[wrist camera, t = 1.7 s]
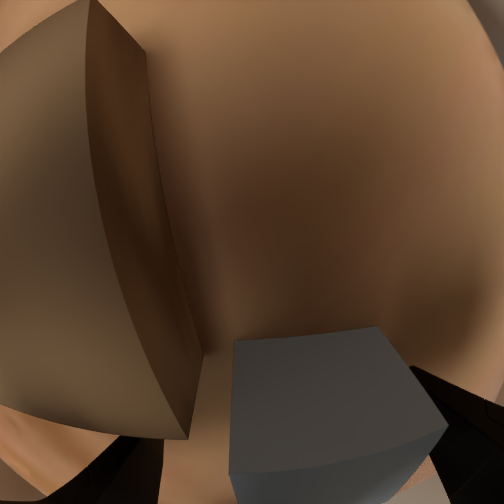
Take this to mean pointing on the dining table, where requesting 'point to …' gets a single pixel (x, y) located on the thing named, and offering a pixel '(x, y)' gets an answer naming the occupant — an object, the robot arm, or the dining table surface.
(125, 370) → the walnut block
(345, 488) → the cube
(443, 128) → the dining table surface
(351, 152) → the dining table surface
